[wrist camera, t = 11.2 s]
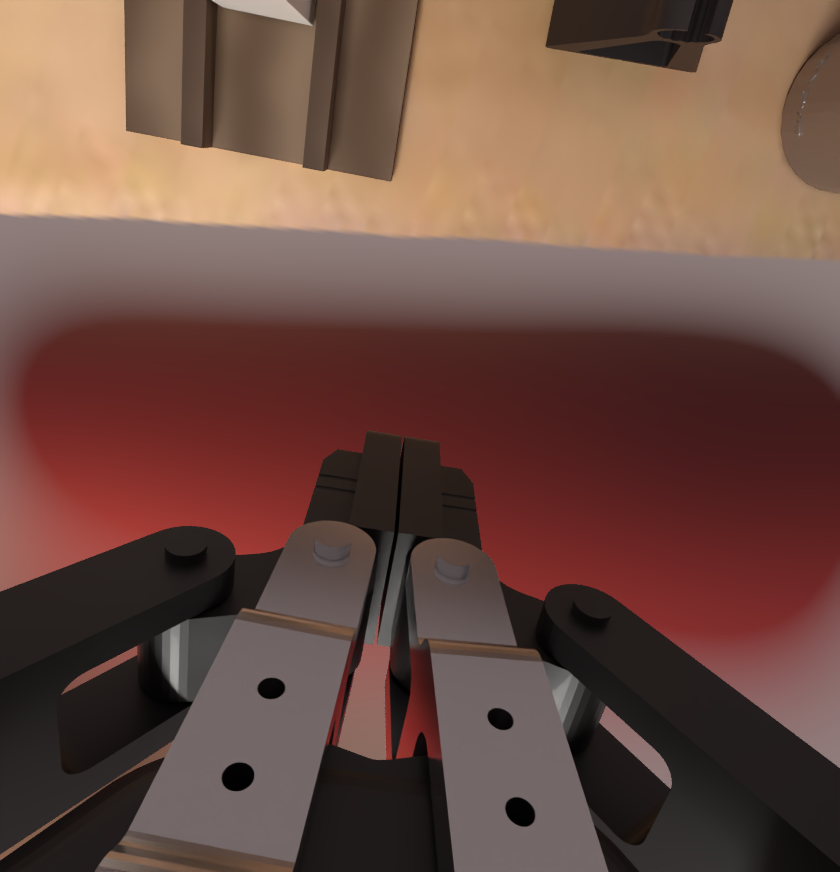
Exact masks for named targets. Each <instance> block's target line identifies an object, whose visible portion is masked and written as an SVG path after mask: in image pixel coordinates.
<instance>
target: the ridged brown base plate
mask: <svg viewBox="0 0 840 872" xmlns="http://www.w3.org/2000/svg"><path fill="white" fill-rule="evenodd" d="M417 6H418V0H316V4H315V15H314V26H310V25H305V24H300V23H296V22H291V21H286V20H281V19H276V18H271V17H267V16H262V15H257V14H252V13H247V12H243V11H238V10H233V9H228V8H223V7H222V6H220V5H218V4H217V3H215V2H213V1H212V0H124V10H125V81H126V131H130V132H135V133H141V134H146V135H151V136H156V137H161V138H167V139H172V140H177V141H181V144H183V145H188V146H194V147H199V148H209V147H214V148H219V149H224V150H229V151H234V152H240V153H245V154H250V155H255V156H260V157H266V158H271V159H276V160H281V161H287V162H292V163H297V164H302V165H303V168H309V169H314V170H319V171H325V170H327V169H328V170H333V171H339V172H344V173H349V174H354V175H359V176H365V177H370V178H375V179H380V180H386V181H391V180H392V173H393V167H394V160H395V153H396V147H397V140H398V133H399V127H400V120H401V113H402V106H403V100H404V93H405V86H406V80H407V73H408V66H409V60H410V53H411V46H412V39H413V33H414V26H415V19H416V13H417Z"/></svg>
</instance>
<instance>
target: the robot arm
mask: <svg viewBox="0 0 840 872" xmlns="http://www.w3.org/2000/svg"><path fill="white" fill-rule="evenodd" d="M781 137H782V146H783V150H784V153H785V156H786V158H787V161H788V163H789V165H790V166H791V168H792V169H793V171H794V172H795V174H796V175H797V176H798V177H800V178H801V179H802V180H803V181H804V182H805V183H807V184H809V185H811V186H813V187H815V188H817V189H819V190H823V191H829V192H834V193H840V33H839V34H837V35H836V36H835V37H833V38H832V39H831V40H829V41H828V42H827V43H825V44H824V45H823V46H821V47H820V48H819V50H818V51H817V52H816V53H815V54H814V55H813V56H812V57H811V58H810V59H809V60H808V61H807V62H806V64H805V65H804V67H803V68H802V70H801V71H800V73H799V74H798V75H797V77H796V79H795V81H794V83H793V85H792V87H791V89H790V91H789V93H788V96H787V99H786V103H785V106H784V110H783V113H782V124H781ZM401 440H402V436H398V435H392V434H386V433H379V432H374V431H367V433H366V439H365V444H364V449H363V453H357V452H351V451H344V450H338V449H337V450H336V451H335V452H333V453H332V454H331V455H329V456H328V457H327V458H325V459H324V460H323V463H322V466H321V469H320V473H319V476H318V479H317V482H316V486H315V489H314V492H313V495H312V498H311V502H310V505H309V508H308V511H307V515H306V518H305V521H304V524H303V525H302V526H300V527H299V528H297V529H296V530H295V531H293V532H292V534H291V535H290V537H289V539H288V541H287V543H286V545H285V547H283V548H281V549H278V550H275V551H272V552H267V553H261V554H250V555H249V554H248V555H235V548H234V545H233V544H232V542H231V541H230V540H229V539H228V538H227V537H226V536H224V535H223V534H221V533H219V532H217V531H215V530H212V529H208V528H203V527H196V526H181V527H174V528H169V529H165V530H162V531H159V532H156V533H154V534H151V535H148V536H146V537H143V538H140V539H138V540H135V541H132V542H130V543H127V544H124V545H122V546H119V547H117V548H115V549H111V550H109V551H106V552H104V553H101V554H98V555H96V556H93V557H90V558H88V559H85V560H83V561H80V562H77V563H75V564H72V565H69V566H67V567H64V568H62V569H59V570H56V571H54V572H51V573H48V574H46V575H43V576H40V577H38V578H35V579H33V580H30V581H27V582H25V583H23V584H19V585H17V586H14V587H12V588H9V589H7V590H4V591H1V592H0V854H1V853H3V852H4V851H6V850H7V849H9V848H11V847H12V846H14V845H15V844H17V843H18V842H20V841H21V840H23V839H24V838H26V837H27V836H29V835H30V834H32V833H33V832H35V831H36V830H38V829H39V828H41V827H42V826H44V825H45V824H47V823H48V822H50V821H52V820H53V819H55V818H56V817H58V816H59V815H61V814H62V813H64V812H65V811H67V810H68V809H70V808H71V807H72V806H74V805H76V804H77V803H79V802H80V801H82V800H83V799H85V798H86V797H88V796H90V795H91V794H92V793H94V792H96V791H97V790H99V789H100V788H102V787H103V786H105V785H106V784H108V783H109V782H111V781H112V780H114V779H115V778H117V777H118V776H120V775H121V774H123V773H124V772H126V771H127V770H129V769H131V768H132V767H133V766H135V765H137V764H138V763H140V762H141V761H143V760H144V759H146V758H147V757H149V756H150V755H152V754H153V753H155V752H156V751H158V750H159V749H161V748H162V747H164V746H165V745H167V744H168V743H170V742H172V741H173V740H174V741H173V743H172V745H171V747H170V749H169V751H168V753H167V755H166V757H164V758H162V759H158V760H156V761H153V762H151V763H149V764H146V765H144V766H142V767H139V768H137V769H135V770H133V771H132V772H130V773H128V774H126V775H124V776H122V777H121V778H119V779H117V780H115V781H114V782H112V783H111V784H109V785H108V786H106V787H105V788H103V789H102V790H100V791H99V792H97V793H96V794H95V795H93V796H92V797H90V798H89V799H87V800H86V801H85V802H83V803H82V804H80V805H79V806H78V807H76V808H75V809H73V810H72V811H70V812H69V813H68V814H66V815H65V816H63V817H62V818H60V819H59V820H58V821H56V822H55V823H53V824H52V825H50V826H49V827H48V828H46V829H45V830H43V831H42V832H40V833H39V834H38V835H36V836H35V837H33V838H32V839H30V840H29V841H28V842H26V843H25V844H23V845H22V846H20V847H19V848H18V849H16V850H15V851H13V852H12V853H10V854H9V855H8V856H6V857H5V858H3V859H2V860H0V872H840V768H839V767H837V766H836V765H835V764H833V763H832V762H831V761H829V760H828V759H827V758H825V757H824V756H823V755H822V754H820V753H819V752H818V751H816V750H815V749H813V748H812V747H811V746H810V745H808V744H807V743H805V742H804V741H803V740H802V739H800V738H799V737H797V736H796V735H795V734H794V733H792V732H791V731H790V730H788V729H787V728H785V727H784V726H783V725H782V724H780V723H779V722H778V721H776V720H775V719H774V718H772V717H771V716H770V715H768V714H767V713H766V712H764V711H763V710H762V709H760V708H759V707H758V706H756V705H755V704H754V703H752V702H751V701H750V700H748V699H747V698H746V697H744V696H743V695H742V694H741V693H739V692H738V691H736V690H735V689H734V688H733V687H731V686H730V685H729V684H727V683H726V682H725V681H723V680H722V679H721V678H719V677H718V676H717V675H715V674H714V673H713V672H711V671H710V670H709V669H707V668H706V667H705V666H703V665H702V664H701V663H699V662H698V661H697V660H695V659H694V658H693V657H691V656H690V655H689V654H687V653H686V652H685V651H683V650H682V649H681V648H679V647H678V646H677V645H675V644H674V643H673V642H672V641H670V640H669V639H668V638H666V637H665V636H664V635H662V634H661V633H660V632H658V631H657V630H656V629H654V628H653V627H651V626H650V625H649V624H648V623H646V622H645V621H643V620H642V619H641V618H640V617H638V616H637V615H636V614H634V613H633V612H632V611H630V610H629V609H627V608H626V607H625V606H624V605H622V604H621V603H620V602H618V601H617V600H616V599H614V598H613V597H611V596H609V595H608V594H606V593H604V592H602V591H599V590H597V589H594V588H591V587H588V586H583V585H577V584H566V585H560V586H557V587H555V588H553V589H551V590H550V591H549V592H548V594H547V596H546V597H545V600H544V601H542V600H539V599H537V598H534V597H531V596H528V595H526V594H523V593H520V592H518V591H516V590H514V589H512V588H510V587H508V586H506V585H505V584H503V583H502V582H500V581H499V578H498V575H497V571H496V568H495V565H494V563H493V561H492V560H491V559H490V557H489V556H488V555H487V554H485V553H484V552H483V551H482V548H481V540H480V533H479V525H478V518H477V513H476V503H475V501H474V499H475V496H474V488H473V483H472V482H471V480H470V479H469V478H468V477H467V476H466V474H465V473H464V472H463V471H462V470H461V469H458V468H451V467H445V466H441V464H440V443H439V442H436V441H430V440H424V439H417V438H411V437H404V441H403V445H402V451H401ZM400 453H401V456H400ZM380 605H381V607H380ZM380 608H381V609H380ZM379 611H380V618H379V629H378V640H377V645H383V646H389V647H390V659H389V664H388V669H387V674H386V679H385V687H384V688H385V733H386V760H373V759H370V758H367V757H364V756H361V755H358V754H356V753H353V752H350V751H347V750H345V749H342V748H340V747H338V744H339V740H340V735H341V731H342V727H343V723H344V718H345V714H346V709H347V705H348V701H349V697H350V692H351V688H352V684H353V678H354V673H355V669H356V668H357V667H358V665H359V663H360V661H361V656H362V651H363V645H364V643H366V644H373V642H374V637H375V631H376V626H377V621H378V615H379ZM135 646H137V654H138V655H137V656H135V657H133V658H131V659H129V660H127V661H125V662H124V663H122V664H120V665H118V666H116V667H114V668H112V669H110V670H108V671H106V672H104V673H102V674H100V675H99V676H97V677H95V678H93V679H91V680H89V681H87V682H85V683H83V684H81V685H80V686H78V687H76V688H74V689H72V690H70V691H68V692H66V693H64V694H62V692H63V691H64V689H65V688H66V687H67V686H68V685H69V684H70V683H71V682H72V681H73V680H74V679H76V678H77V677H78V676H80V675H81V674H83V673H85V672H86V671H88V670H90V669H92V668H94V667H96V666H98V665H100V664H102V663H104V662H106V661H108V660H110V659H112V658H114V657H116V656H118V655H120V654H122V653H124V652H126V651H127V650H129V649H131V648H133V647H135ZM61 694H62V695H61ZM606 706H608V707H609V708H610V709H611V710H612V711H613V712H614V713H615V714H616V715H617V716H619V717H620V718H621V719H622V720H623V721H624V722H625V723H626V724H628V725H629V726H630V727H631V728H632V729H633V730H634V731H635V732H636V733H638V734H639V735H640V736H641V737H642V738H643V739H644V740H645V741H646V742H647V743H649V744H650V745H651V746H652V747H653V748H654V749H655V750H656V751H657V752H658V753H659V754H660V755H661V756H662V758H663V759H664V761H665V762H666V764H667V766H668V768H669V770H670V773H671V778H672V787H671V789H670V788H669V787H667V786H666V785H665V784H664V783H663V782H662V781H661V780H660V779H659V778H658V777H657V776H656V775H655V774H654V773H652V772H651V771H650V770H649V769H648V768H647V767H646V766H645V765H644V764H643V763H642V762H641V761H640V760H638V759H637V758H636V757H635V756H634V755H633V754H632V753H631V752H630V751H629V750H628V749H627V748H626V747H624V746H623V745H622V744H621V743H620V742H619V741H618V740H617V739H616V738H615V737H614V736H613V735H612V734H611V733H610V732H608V731H607V730H606V729H605V728H604V727H603V726H602V725H601V724H600V723H599V721H600V719H601V716H602V714H603V712H604V709H605V707H606Z"/></svg>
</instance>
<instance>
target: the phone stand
mask: <svg viewBox="0 0 840 872" xmlns="http://www.w3.org/2000/svg"><path fill="white" fill-rule="evenodd" d="M732 3H733V0H555V1H554V6H553V11H552V16H551V22H550V27H549V32H548V37H547V42H546V47H547V48H552V49H558V50H563V51H569V52H575V53H581V54H587V55H593V56H598V57H604V58H610V59H616V60H617V59H618V60H623V61H628V62H634V63H639V64H645V65H651V66H657V67H663V68H669V69H675V70H680V71H686V72H696V71H697V67H698V64H699V60H700V57H701V53H702V50H703V47H704V46H705V45H707V44H711V43H717V42H720V41H721V40H722V37H723V33H724V30H725V26H726V23H727V20H728V16H729V13H730V10H731V6H732Z"/></svg>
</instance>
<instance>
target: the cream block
mask: <svg viewBox="0 0 840 872" xmlns="http://www.w3.org/2000/svg"><path fill="white" fill-rule="evenodd" d="M212 1H213V2H215V3H217V4H218V5H220V6H222V7H223V8H228V9H233V10H238V11H243V12H247V13H252V14H257V15H262V16H267V17H271V18H276V19H281V20H286V21H291V22H296V23H300V24H305V25H310V26H314V15H315V4H316V0H212Z"/></svg>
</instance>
